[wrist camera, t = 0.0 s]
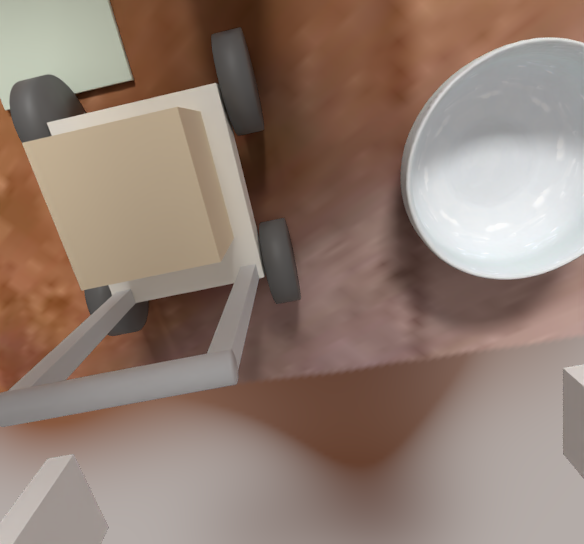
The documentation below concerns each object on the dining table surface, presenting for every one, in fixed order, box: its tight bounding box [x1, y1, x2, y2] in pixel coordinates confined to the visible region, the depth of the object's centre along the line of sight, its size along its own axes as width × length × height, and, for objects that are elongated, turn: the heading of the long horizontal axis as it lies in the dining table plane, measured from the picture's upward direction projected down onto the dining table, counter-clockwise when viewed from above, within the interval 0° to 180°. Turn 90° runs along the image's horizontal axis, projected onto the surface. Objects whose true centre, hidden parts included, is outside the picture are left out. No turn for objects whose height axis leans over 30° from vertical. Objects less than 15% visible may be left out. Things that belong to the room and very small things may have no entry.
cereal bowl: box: [400, 37, 584, 280], centre depth 33 cm, size 17×17×7 cm
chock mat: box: [0, 0, 134, 110], centre depth 32 cm, size 11×11×1 cm
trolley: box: [0, 27, 301, 427], centre depth 27 cm, size 21×16×21 cm
